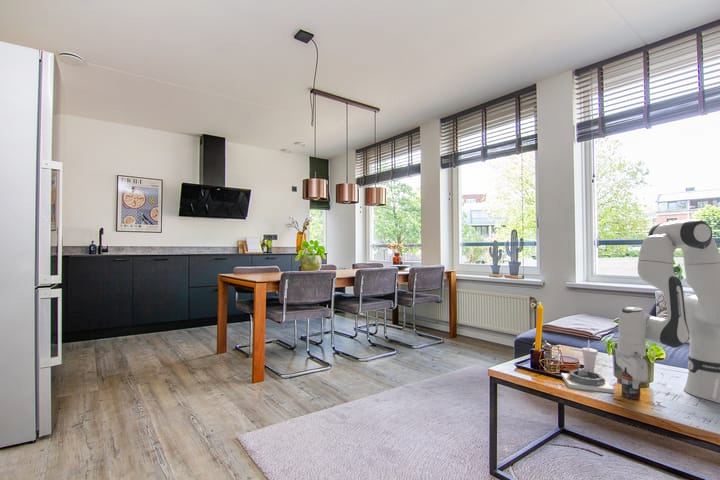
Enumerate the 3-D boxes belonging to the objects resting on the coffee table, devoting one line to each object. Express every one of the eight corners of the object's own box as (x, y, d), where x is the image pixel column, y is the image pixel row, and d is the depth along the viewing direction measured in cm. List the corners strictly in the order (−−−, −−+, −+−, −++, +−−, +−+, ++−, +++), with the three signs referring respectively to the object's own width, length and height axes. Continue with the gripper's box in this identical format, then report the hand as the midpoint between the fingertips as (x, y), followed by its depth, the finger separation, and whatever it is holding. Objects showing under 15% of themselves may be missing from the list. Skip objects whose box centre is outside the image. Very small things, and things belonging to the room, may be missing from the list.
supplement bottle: (634, 394, 148) (634, 365, 148) (643, 400, 142) (644, 370, 142) (618, 393, 148) (618, 364, 148) (627, 399, 142) (627, 369, 142)
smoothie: (579, 367, 179) (579, 338, 179) (593, 368, 178) (593, 339, 178) (585, 371, 173) (585, 341, 173) (600, 372, 172) (600, 342, 172)
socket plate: (601, 380, 162) (602, 377, 162) (614, 393, 148) (614, 389, 148) (561, 376, 166) (561, 372, 166) (569, 387, 153) (569, 384, 153)
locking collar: (599, 377, 161) (599, 372, 161) (609, 387, 150) (609, 381, 150) (564, 374, 165) (564, 368, 165) (571, 383, 153) (571, 377, 153)
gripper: (653, 357, 134) (653, 396, 134) (630, 343, 154) (629, 377, 154) (633, 355, 136) (632, 393, 136) (612, 342, 156) (611, 375, 155)
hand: (630, 384), depth 145 cm, fingers closed on supplement bottle, 6 cm apart
